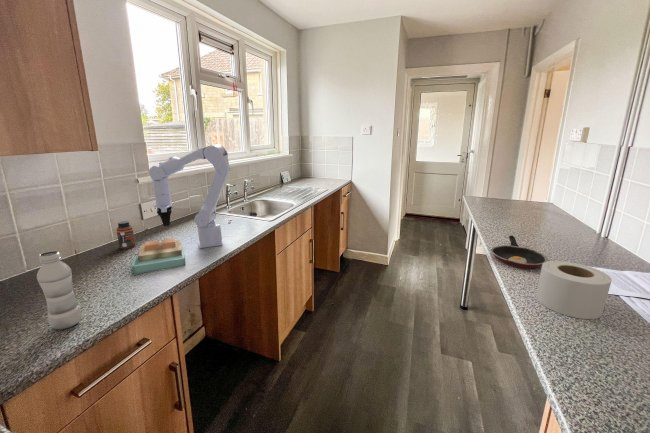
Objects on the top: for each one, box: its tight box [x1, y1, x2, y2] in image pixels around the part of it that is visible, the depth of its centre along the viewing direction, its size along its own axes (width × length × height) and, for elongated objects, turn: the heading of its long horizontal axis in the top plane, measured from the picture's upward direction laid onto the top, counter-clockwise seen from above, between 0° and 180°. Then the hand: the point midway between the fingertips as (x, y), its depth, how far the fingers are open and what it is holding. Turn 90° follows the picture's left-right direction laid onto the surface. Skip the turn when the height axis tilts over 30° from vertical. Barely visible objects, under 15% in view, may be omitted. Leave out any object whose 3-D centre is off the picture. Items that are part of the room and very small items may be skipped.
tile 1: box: [144, 239, 161, 251], centre depth 124 cm, size 5×5×2 cm
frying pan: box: [490, 235, 549, 270], centre depth 124 cm, size 19×32×4 cm, turn 155°
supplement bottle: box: [116, 220, 136, 250], centre depth 130 cm, size 6×6×11 cm
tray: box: [131, 248, 186, 275], centre depth 114 cm, size 17×10×3 cm, turn 116°
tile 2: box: [160, 237, 176, 248], centre depth 127 cm, size 5×5×2 cm
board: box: [137, 239, 182, 262], centre depth 125 cm, size 15×13×2 cm
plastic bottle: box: [36, 250, 82, 330], centre depth 76 cm, size 6×7×20 cm
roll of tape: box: [535, 260, 612, 320], centre depth 87 cm, size 16×15×11 cm
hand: (166, 224), depth 132 cm, fingers open, 4 cm apart
